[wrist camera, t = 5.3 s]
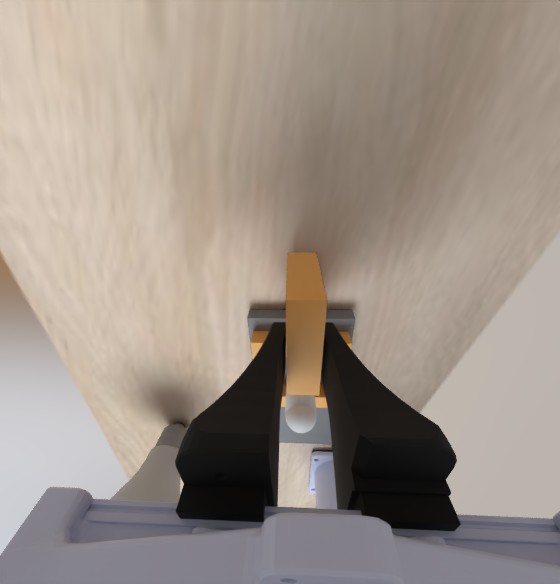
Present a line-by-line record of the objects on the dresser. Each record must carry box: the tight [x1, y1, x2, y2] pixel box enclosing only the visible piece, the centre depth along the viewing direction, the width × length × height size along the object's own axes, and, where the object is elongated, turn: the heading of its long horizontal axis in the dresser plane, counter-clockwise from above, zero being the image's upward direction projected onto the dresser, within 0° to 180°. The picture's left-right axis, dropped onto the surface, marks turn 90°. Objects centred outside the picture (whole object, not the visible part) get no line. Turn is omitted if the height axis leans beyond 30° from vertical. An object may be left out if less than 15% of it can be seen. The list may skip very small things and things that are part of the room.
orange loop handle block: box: [251, 253, 352, 408], centre depth 15 cm, size 12×6×5 cm, turn 1°
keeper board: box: [247, 310, 355, 444], centre depth 19 cm, size 15×7×6 cm, turn 1°
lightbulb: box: [110, 423, 187, 502], centre depth 20 cm, size 6×6×11 cm
